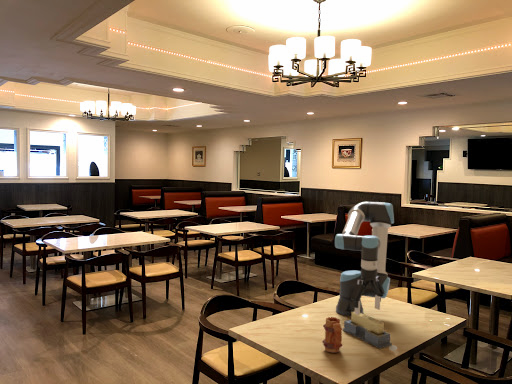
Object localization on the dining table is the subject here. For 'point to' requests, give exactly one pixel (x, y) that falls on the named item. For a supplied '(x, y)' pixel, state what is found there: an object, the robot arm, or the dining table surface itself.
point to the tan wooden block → (368, 323)
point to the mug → (332, 335)
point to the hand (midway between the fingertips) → (367, 311)
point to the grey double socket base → (367, 335)
